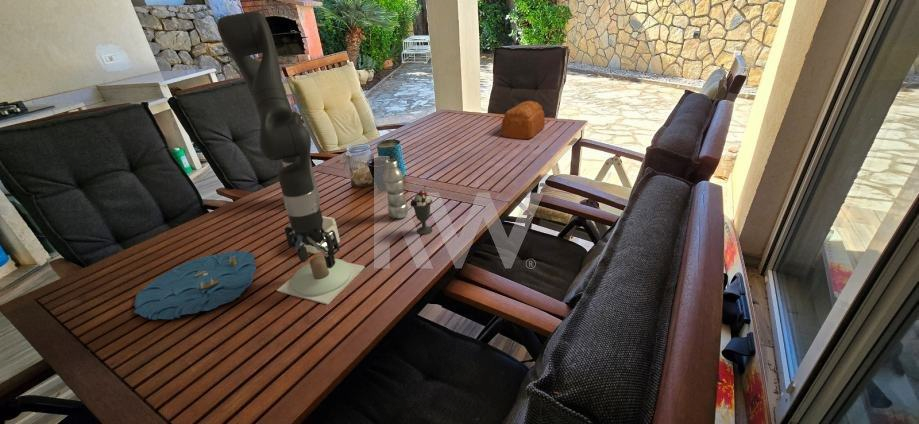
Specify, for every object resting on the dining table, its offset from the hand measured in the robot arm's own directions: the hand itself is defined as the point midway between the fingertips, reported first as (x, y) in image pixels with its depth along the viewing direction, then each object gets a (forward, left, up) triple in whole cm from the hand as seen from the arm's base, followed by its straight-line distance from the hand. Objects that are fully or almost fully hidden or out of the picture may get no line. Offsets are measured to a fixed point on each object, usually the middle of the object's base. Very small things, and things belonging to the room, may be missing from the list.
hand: (318, 263), depth 103 cm
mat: (0, 0, -5) cm, 5 cm away
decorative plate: (-29, -12, -6) cm, 32 cm away
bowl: (-13, +15, -5) cm, 21 cm away
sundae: (+15, +31, -5) cm, 35 cm away
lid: (0, 0, -5) cm, 5 cm away
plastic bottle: (+2, +37, -5) cm, 38 cm away
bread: (+20, +141, -6) cm, 143 cm away
